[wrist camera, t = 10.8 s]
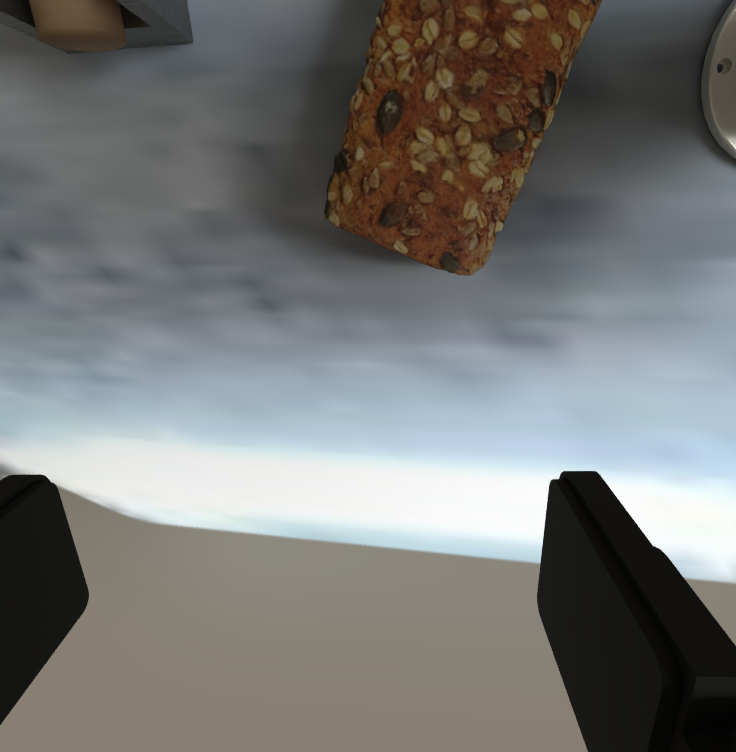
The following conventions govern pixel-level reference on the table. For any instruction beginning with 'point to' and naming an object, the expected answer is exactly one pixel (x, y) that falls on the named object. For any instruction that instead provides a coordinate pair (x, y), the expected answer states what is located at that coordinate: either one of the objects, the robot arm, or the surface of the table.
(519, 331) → the table surface
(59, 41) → the brown cylinder
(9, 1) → the saddle bracket
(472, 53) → the bread
